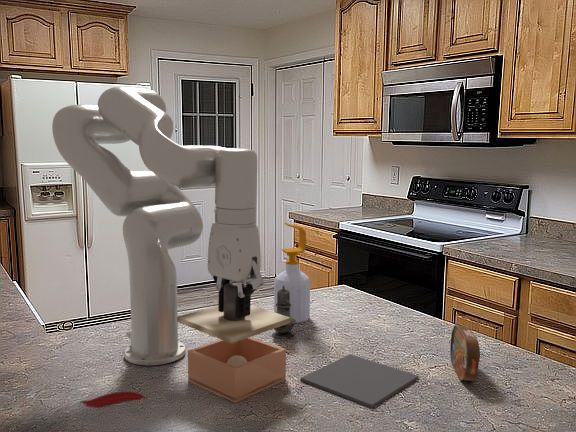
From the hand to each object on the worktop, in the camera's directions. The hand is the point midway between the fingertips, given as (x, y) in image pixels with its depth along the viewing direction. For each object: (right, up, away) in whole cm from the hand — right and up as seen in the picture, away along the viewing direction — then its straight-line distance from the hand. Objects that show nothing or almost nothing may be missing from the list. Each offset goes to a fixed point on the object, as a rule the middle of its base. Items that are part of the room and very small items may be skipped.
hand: (234, 312), depth 104 cm
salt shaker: (+9, -10, +26) cm, 29 cm away
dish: (0, -13, +1) cm, 13 cm away
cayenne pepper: (-20, -15, -7) cm, 26 cm away
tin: (+45, -13, +6) cm, 47 cm away
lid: (0, -2, 0) cm, 2 cm away
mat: (+24, -13, +2) cm, 27 cm away
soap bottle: (+11, -8, +39) cm, 41 cm away
